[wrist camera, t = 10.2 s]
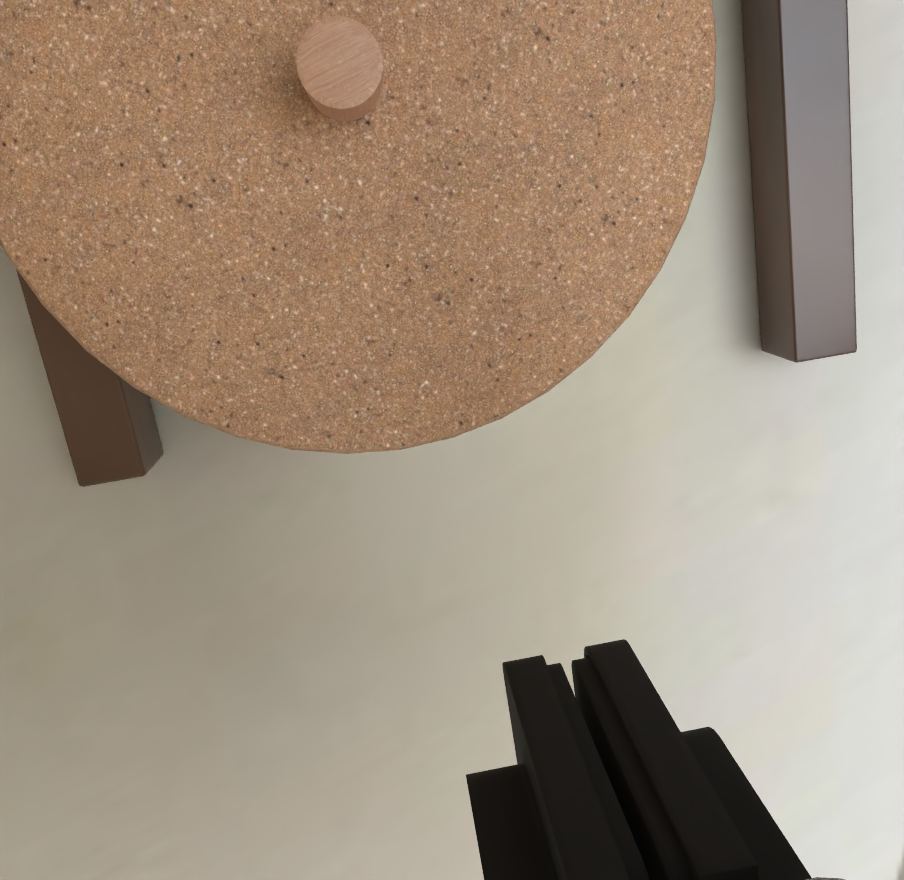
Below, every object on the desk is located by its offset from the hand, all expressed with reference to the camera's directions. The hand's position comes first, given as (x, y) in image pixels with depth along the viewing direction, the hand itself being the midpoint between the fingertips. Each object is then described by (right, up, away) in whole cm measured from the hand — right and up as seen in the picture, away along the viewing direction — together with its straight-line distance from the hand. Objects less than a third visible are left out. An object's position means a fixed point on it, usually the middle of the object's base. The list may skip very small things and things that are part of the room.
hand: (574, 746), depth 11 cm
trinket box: (-4, +11, +8) cm, 14 cm away
